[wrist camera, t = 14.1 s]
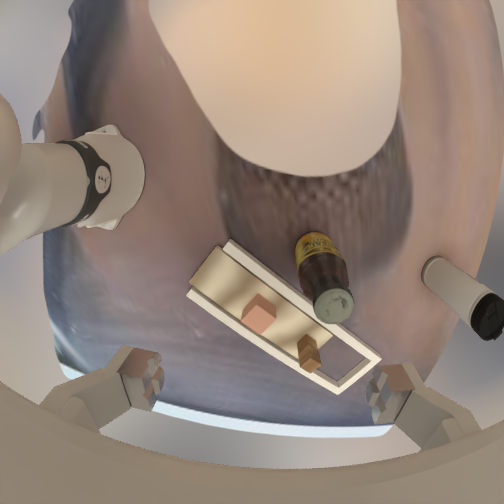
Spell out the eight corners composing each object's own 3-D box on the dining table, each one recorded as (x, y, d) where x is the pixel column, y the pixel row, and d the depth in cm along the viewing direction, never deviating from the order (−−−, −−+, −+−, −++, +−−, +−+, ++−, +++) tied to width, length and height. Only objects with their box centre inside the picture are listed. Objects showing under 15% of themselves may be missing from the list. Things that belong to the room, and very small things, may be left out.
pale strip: (190, 279, 47) (175, 301, 39) (217, 244, 44) (206, 261, 37) (302, 358, 50) (306, 387, 42) (332, 331, 48) (340, 359, 40)
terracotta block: (242, 309, 46) (240, 321, 42) (257, 293, 45) (256, 304, 41) (261, 322, 47) (260, 335, 43) (276, 306, 46) (276, 319, 42)
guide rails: (189, 290, 48) (186, 295, 46) (230, 238, 44) (228, 241, 42) (336, 388, 53) (337, 394, 51) (378, 353, 49) (381, 359, 47)
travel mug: (427, 294, 45) (484, 351, 26) (416, 269, 44) (479, 323, 25) (450, 274, 43) (512, 323, 24) (440, 249, 42) (508, 293, 23)
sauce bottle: (335, 233, 43) (379, 282, 24) (327, 269, 45) (360, 337, 26) (295, 226, 43) (314, 272, 24) (288, 263, 45) (299, 331, 26)
